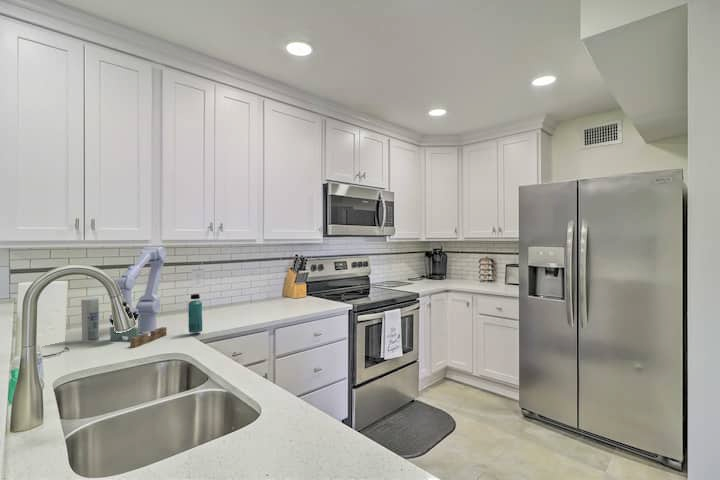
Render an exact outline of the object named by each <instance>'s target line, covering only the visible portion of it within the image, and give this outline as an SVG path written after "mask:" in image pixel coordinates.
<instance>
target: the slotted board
mask: <svg viewBox="0 0 720 480" xmlns="http://www.w3.org/2000/svg"><path fill="white" fill-rule="evenodd" d="M163 336H164V337H166V336H167V327H166V326H162V327H158V328H157V329H155V330H153V331H151V332H150V335H149V333H144V334H143V333H140V335H138V336H136V337H133V338H130V341H129V342H130V344H129V346H130V348H132V349H133V348H138V347H141V346H143V345H145V344H148V343H150V342H153V341H156V340H159V339H161V338H163ZM160 337H161V338H160Z"/></svg>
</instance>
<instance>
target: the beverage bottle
mask: <svg viewBox="0 0 720 480" xmlns="http://www.w3.org/2000/svg"><path fill="white" fill-rule="evenodd" d="M200 297H201V296H200V294H199V293H194V294H191V295H190V300H191V301H190V302H188V303H187V304H188V308H187V309H188V315H187V316H188V332H189V333H190V334H196V333H200V332H202V331H203V302H202V301H200V300H198V299H201V298H200Z"/></svg>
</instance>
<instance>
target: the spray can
mask: <svg viewBox="0 0 720 480" xmlns="http://www.w3.org/2000/svg"><path fill="white" fill-rule="evenodd" d="M99 301H100V300H99V297H85V298H82V299H81V301H80V302H81V304H80V305H81V306H80V307H81V308H80V309H81V337H82V338H81V339H82V343H84V344H86V343H95V342H98V341H99V340H100V330H99V329H100V327H99V326H100V322H99V321H100V319H99V316H100V314H99V313H100V312H99V311H100V310H99V309H100V308H99V305H100V303H99Z"/></svg>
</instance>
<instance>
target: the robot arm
mask: <svg viewBox="0 0 720 480" xmlns="http://www.w3.org/2000/svg"><path fill="white" fill-rule="evenodd" d="M166 255H167V251H166V249H165V248H164V247H163V246H144V247H143V248H142V250H141V251H140V256H139V258H138V259H137V261H136V262H135V263H134V265H129V266H128V267H127V269H126V271H124V273H123V274H122V275H121V277H118V278H116V279H115V281H116V282H117V284H118V285H119V287H120V290H121V293H122V295H123V298H124V300H125V301H126V302H127V304H128V305H129V307H130V309H131V311H132V313H133V315H134V318H135V320H136V321H137V323H138V324H137V327H140V334H149V333H151V331H153V330H155V329H158V328H157V314H158V312H159V311H160V309H161V299H160V298H159V297H158V296H157V293H158V290H159V285H160V281H161V275H162V272H163V268H164V263H165V260H166ZM147 263H148V264H149V265H151V267H150V271H149V275H148V277H147V278H148V279H147V284H146V288H145V291H144V294H142V296H140V297H139V299H138V301H137V302H136V306H135V308H134V309H133V307H132V305H133V304H132V289H133V288H134V287H135V282H136V280H137V278H138V277H139V276H140V275H141V274H142V270H141V269H143V268H144V266H145V265H146V264H147ZM115 281H114V282H115ZM109 322H110V323H111V325H112V326H113V320H112V314H110V315H109ZM115 333H116V332H115ZM116 334H120V333H116Z"/></svg>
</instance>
